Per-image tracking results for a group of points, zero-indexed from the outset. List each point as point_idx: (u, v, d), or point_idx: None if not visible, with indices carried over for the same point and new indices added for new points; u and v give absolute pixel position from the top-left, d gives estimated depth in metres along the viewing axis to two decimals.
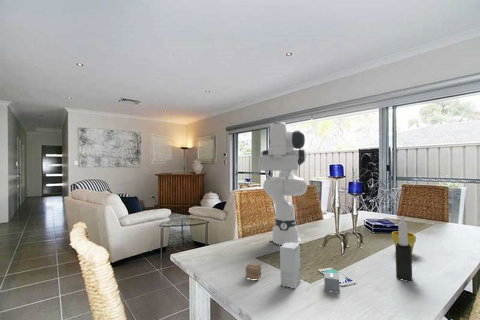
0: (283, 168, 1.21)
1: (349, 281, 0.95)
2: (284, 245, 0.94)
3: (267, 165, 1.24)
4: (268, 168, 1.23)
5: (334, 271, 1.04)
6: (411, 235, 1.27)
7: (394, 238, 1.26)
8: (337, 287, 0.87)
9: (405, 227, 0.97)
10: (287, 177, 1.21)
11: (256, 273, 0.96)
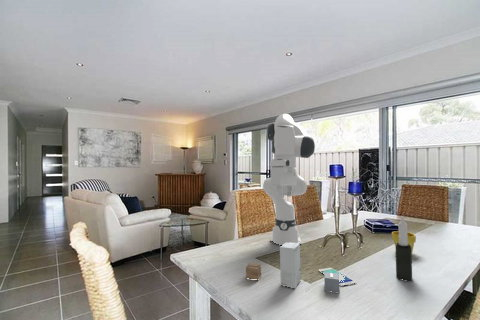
0: (291, 183, 1.01)
1: (349, 281, 0.95)
2: (284, 245, 0.94)
3: (284, 179, 0.94)
4: (285, 183, 0.95)
5: (334, 271, 1.04)
6: (411, 235, 1.27)
7: (394, 238, 1.26)
8: (337, 287, 0.87)
9: (405, 227, 0.97)
10: (291, 194, 1.03)
11: (256, 273, 0.96)
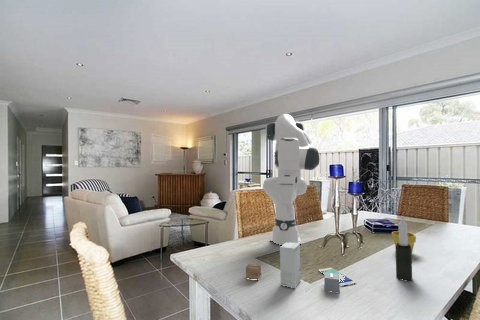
0: None
1: (349, 281, 0.95)
2: (284, 245, 0.94)
3: (292, 197, 0.90)
4: (292, 201, 0.90)
5: (334, 271, 1.04)
6: (411, 235, 1.27)
7: (394, 238, 1.26)
8: (337, 287, 0.87)
9: (405, 227, 0.97)
10: (292, 210, 0.96)
11: (256, 273, 0.96)
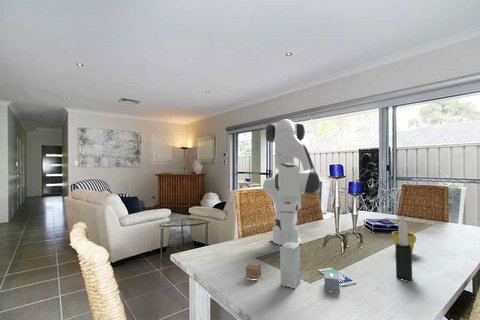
0: (295, 223, 0.97)
1: (349, 281, 0.95)
2: (284, 245, 0.94)
3: (293, 224, 0.90)
4: (293, 228, 0.90)
5: (334, 271, 1.04)
6: (411, 235, 1.27)
7: (394, 238, 1.26)
8: (337, 287, 0.87)
9: (405, 227, 0.97)
10: (292, 236, 0.95)
11: (256, 273, 0.96)
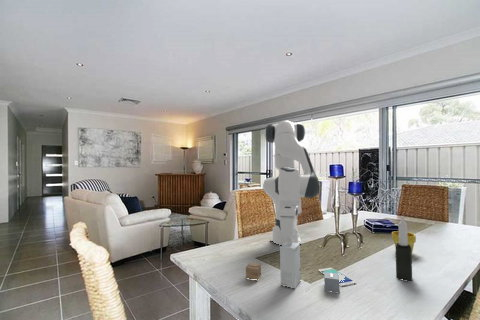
0: (295, 227, 0.97)
1: (349, 281, 0.95)
2: (284, 245, 0.94)
3: (293, 228, 0.90)
4: (293, 232, 0.90)
5: (334, 271, 1.04)
6: (411, 235, 1.27)
7: (394, 238, 1.26)
8: (337, 287, 0.87)
9: (405, 227, 0.97)
10: (292, 240, 0.95)
11: (256, 273, 0.96)
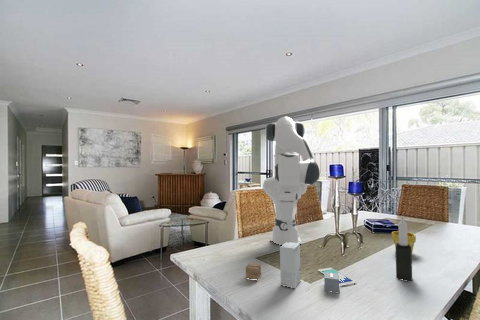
0: (295, 213, 0.98)
1: (349, 281, 0.95)
2: (284, 245, 0.94)
3: None
4: (293, 217, 0.91)
5: (334, 271, 1.04)
6: (411, 235, 1.27)
7: (394, 238, 1.26)
8: (337, 287, 0.87)
9: (405, 227, 0.97)
10: (292, 225, 0.96)
11: (256, 273, 0.96)
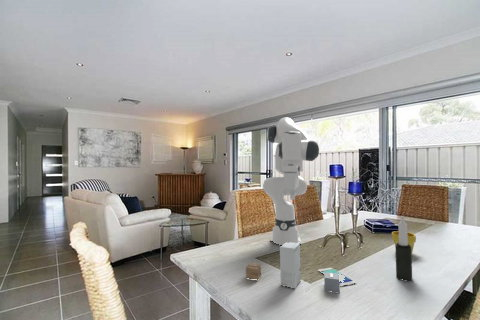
0: (297, 186, 1.08)
1: (349, 281, 0.95)
2: (284, 245, 0.94)
3: (295, 184, 1.00)
4: (295, 187, 1.01)
5: (334, 271, 1.04)
6: (411, 235, 1.27)
7: (394, 238, 1.26)
8: (337, 287, 0.87)
9: (405, 227, 0.97)
10: None
11: (256, 273, 0.96)
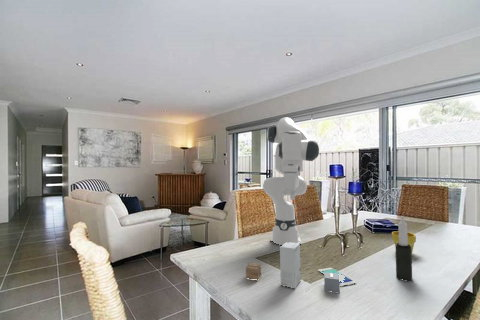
0: (297, 186, 1.08)
1: (349, 281, 0.95)
2: (284, 245, 0.94)
3: (295, 184, 1.00)
4: (295, 187, 1.01)
5: (334, 271, 1.04)
6: (411, 235, 1.27)
7: (394, 238, 1.26)
8: (337, 287, 0.87)
9: (405, 227, 0.97)
10: None
11: (256, 273, 0.96)
